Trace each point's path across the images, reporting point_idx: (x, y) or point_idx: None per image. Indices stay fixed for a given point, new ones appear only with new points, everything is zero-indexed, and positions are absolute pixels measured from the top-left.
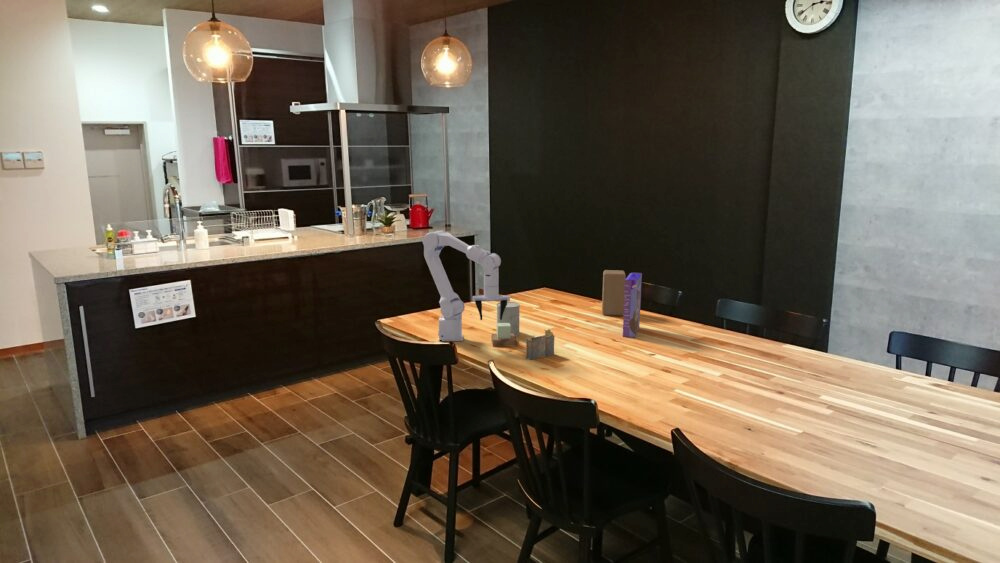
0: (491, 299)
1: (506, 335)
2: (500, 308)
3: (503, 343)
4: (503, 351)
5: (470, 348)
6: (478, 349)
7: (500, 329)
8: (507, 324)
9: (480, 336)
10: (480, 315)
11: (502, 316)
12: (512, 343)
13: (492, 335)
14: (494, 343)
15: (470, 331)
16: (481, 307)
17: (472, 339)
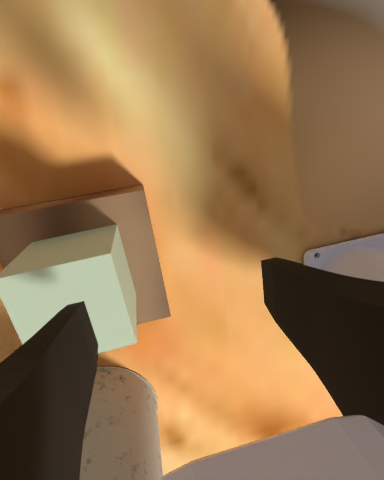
0: (294, 471)
1: (54, 243)
2: (68, 441)
3: (77, 197)
4: (56, 79)
5: (261, 128)
6: (216, 112)
7: (90, 249)
8: (36, 322)
9: (226, 336)
10: (303, 266)
11: (117, 474)
12: (19, 209)
13: (160, 284)
14: (133, 188)
15: (273, 391)
16: (371, 302)
17: (259, 286)
